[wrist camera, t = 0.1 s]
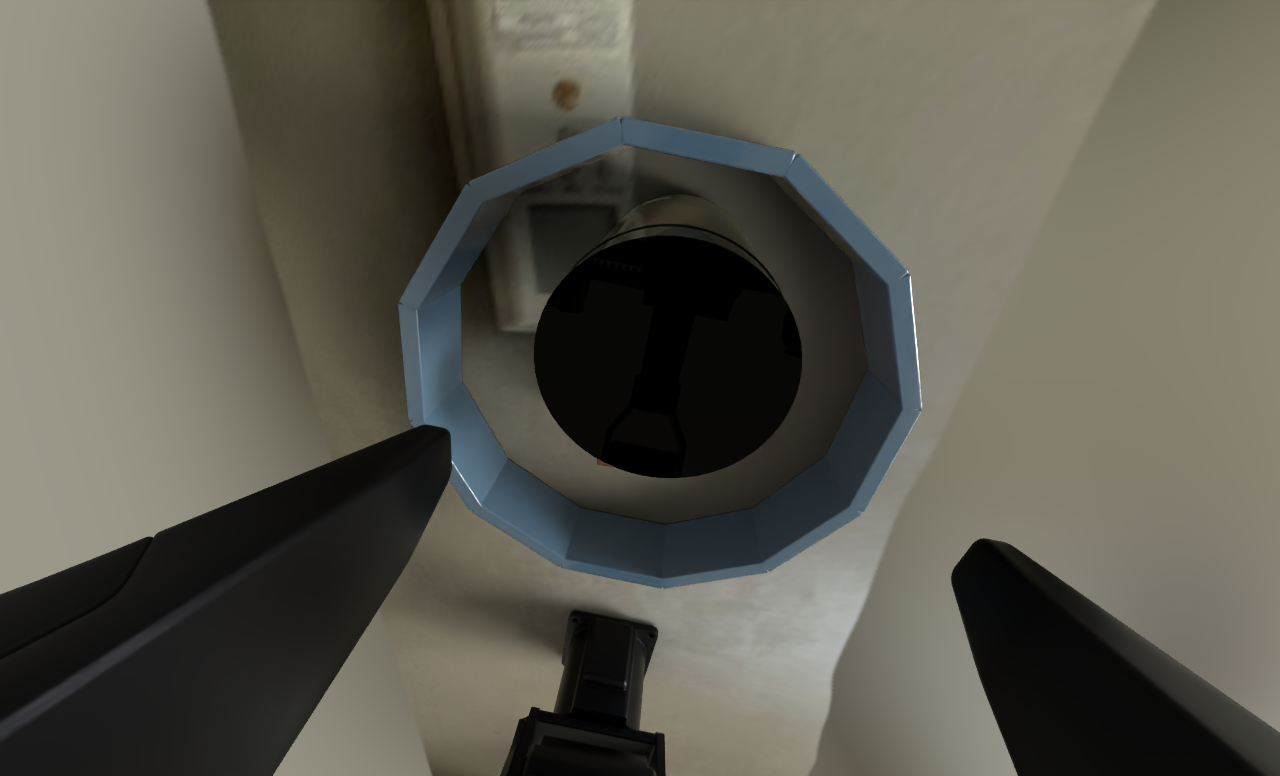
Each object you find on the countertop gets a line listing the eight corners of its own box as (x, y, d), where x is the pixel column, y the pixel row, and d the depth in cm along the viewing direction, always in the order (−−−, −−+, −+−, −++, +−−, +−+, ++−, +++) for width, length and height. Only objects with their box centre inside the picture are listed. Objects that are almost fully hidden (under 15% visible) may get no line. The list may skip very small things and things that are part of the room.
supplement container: (652, 364, 23) (627, 510, 14) (573, 247, 20) (478, 329, 11) (777, 296, 21) (847, 417, 11) (705, 156, 18) (719, 167, 9)
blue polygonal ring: (789, 559, 28) (804, 618, 25) (452, 490, 28) (418, 539, 25) (973, 190, 18) (1043, 201, 14) (438, 81, 18) (376, 65, 14)
